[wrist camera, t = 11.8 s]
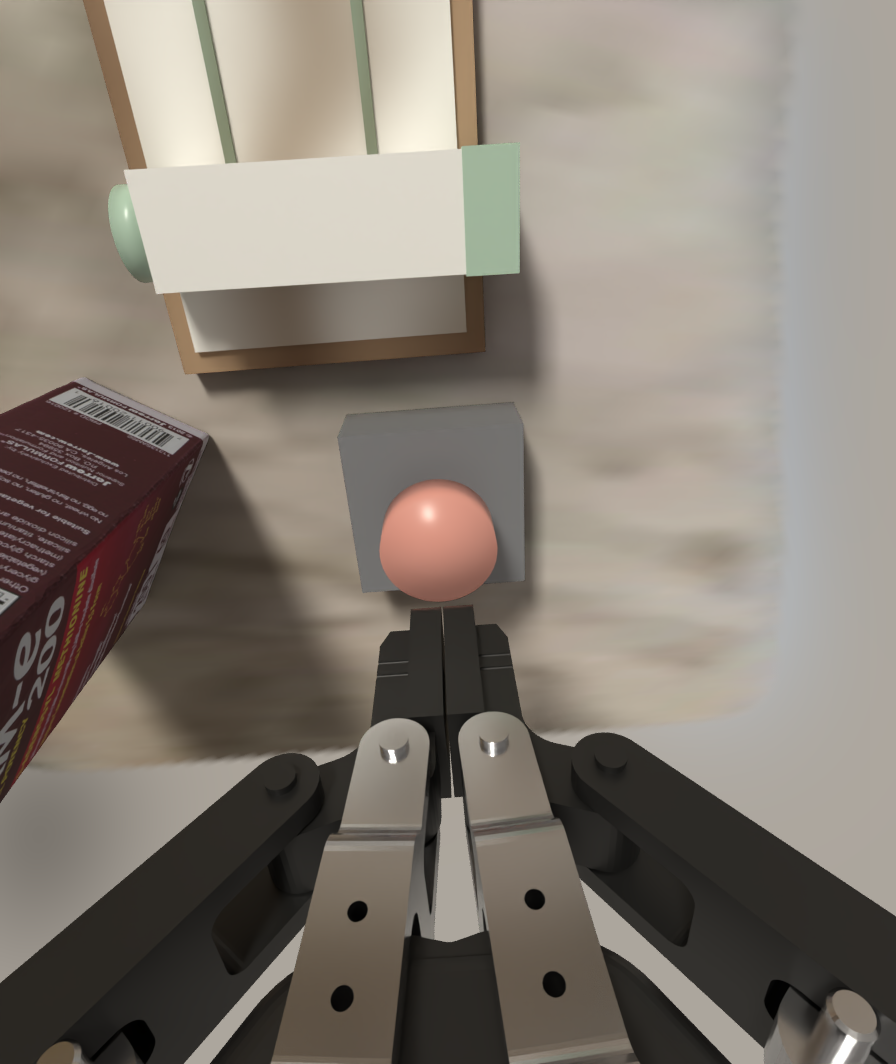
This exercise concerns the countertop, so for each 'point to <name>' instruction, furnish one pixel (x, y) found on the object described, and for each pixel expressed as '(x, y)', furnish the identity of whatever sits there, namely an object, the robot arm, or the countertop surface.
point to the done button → (438, 541)
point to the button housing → (435, 474)
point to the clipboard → (298, 150)
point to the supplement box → (77, 544)
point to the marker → (321, 219)
